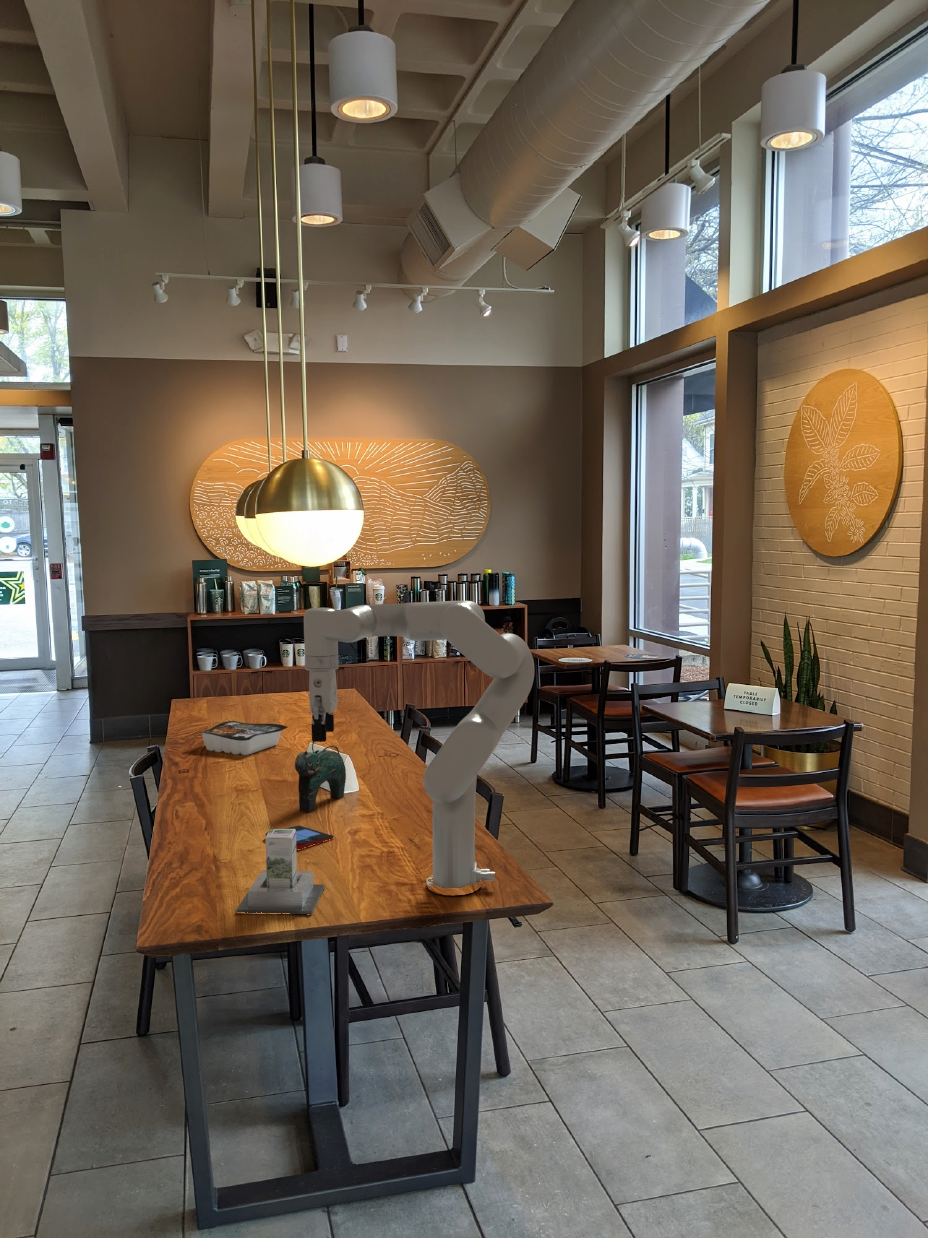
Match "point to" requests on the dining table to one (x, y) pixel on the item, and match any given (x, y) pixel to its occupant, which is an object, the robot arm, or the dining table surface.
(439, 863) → the robot arm
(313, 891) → the grey holder base
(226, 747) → the food packaging
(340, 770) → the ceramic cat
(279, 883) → the syrup box
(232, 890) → the dining table surface
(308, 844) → the game console
